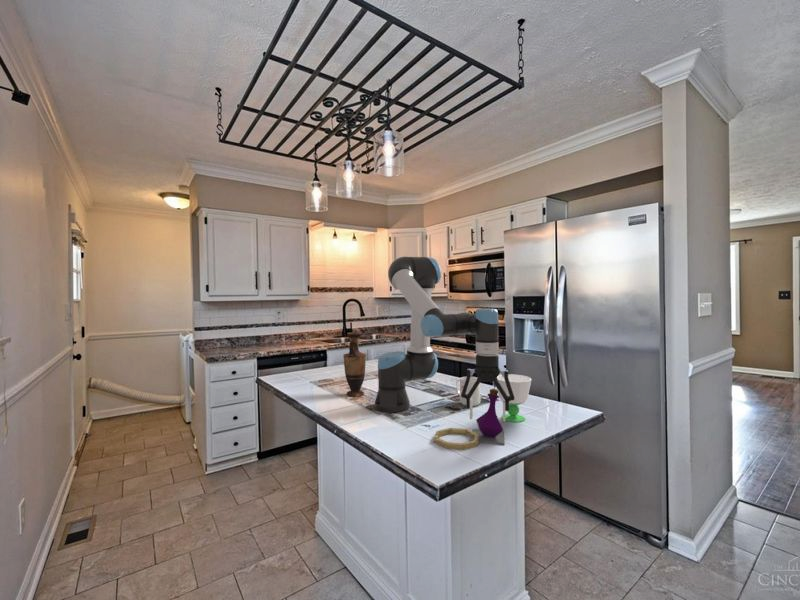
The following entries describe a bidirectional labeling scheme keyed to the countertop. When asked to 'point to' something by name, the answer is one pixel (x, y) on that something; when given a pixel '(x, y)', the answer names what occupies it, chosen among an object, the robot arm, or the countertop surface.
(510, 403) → the cup
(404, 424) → the countertop surface
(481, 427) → the perfume bottle
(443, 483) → the countertop surface
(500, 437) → the slate coaster
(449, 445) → the wooden octagonal frame
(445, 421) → the countertop surface
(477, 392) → the mug
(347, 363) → the vase
